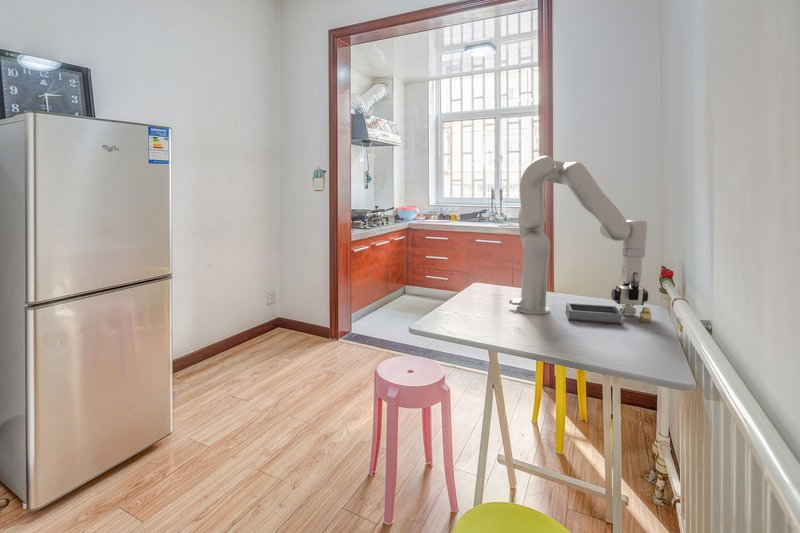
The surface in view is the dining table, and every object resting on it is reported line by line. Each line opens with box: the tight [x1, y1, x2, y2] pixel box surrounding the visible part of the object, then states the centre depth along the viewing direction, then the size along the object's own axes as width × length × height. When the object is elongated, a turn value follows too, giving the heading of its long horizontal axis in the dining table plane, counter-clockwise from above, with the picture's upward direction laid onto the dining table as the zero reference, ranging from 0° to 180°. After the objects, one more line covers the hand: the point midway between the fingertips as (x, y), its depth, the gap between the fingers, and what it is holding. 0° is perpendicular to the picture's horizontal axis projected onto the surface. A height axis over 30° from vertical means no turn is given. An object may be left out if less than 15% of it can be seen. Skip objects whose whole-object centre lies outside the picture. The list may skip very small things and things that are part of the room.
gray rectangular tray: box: [565, 302, 623, 326], centre depth 157 cm, size 17×13×4 cm
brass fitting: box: [638, 307, 652, 324], centre depth 152 cm, size 4×4×5 cm
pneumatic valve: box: [610, 284, 649, 317], centre depth 161 cm, size 6×12×12 cm, turn 78°
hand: (630, 296), depth 161 cm, fingers open, 9 cm apart
